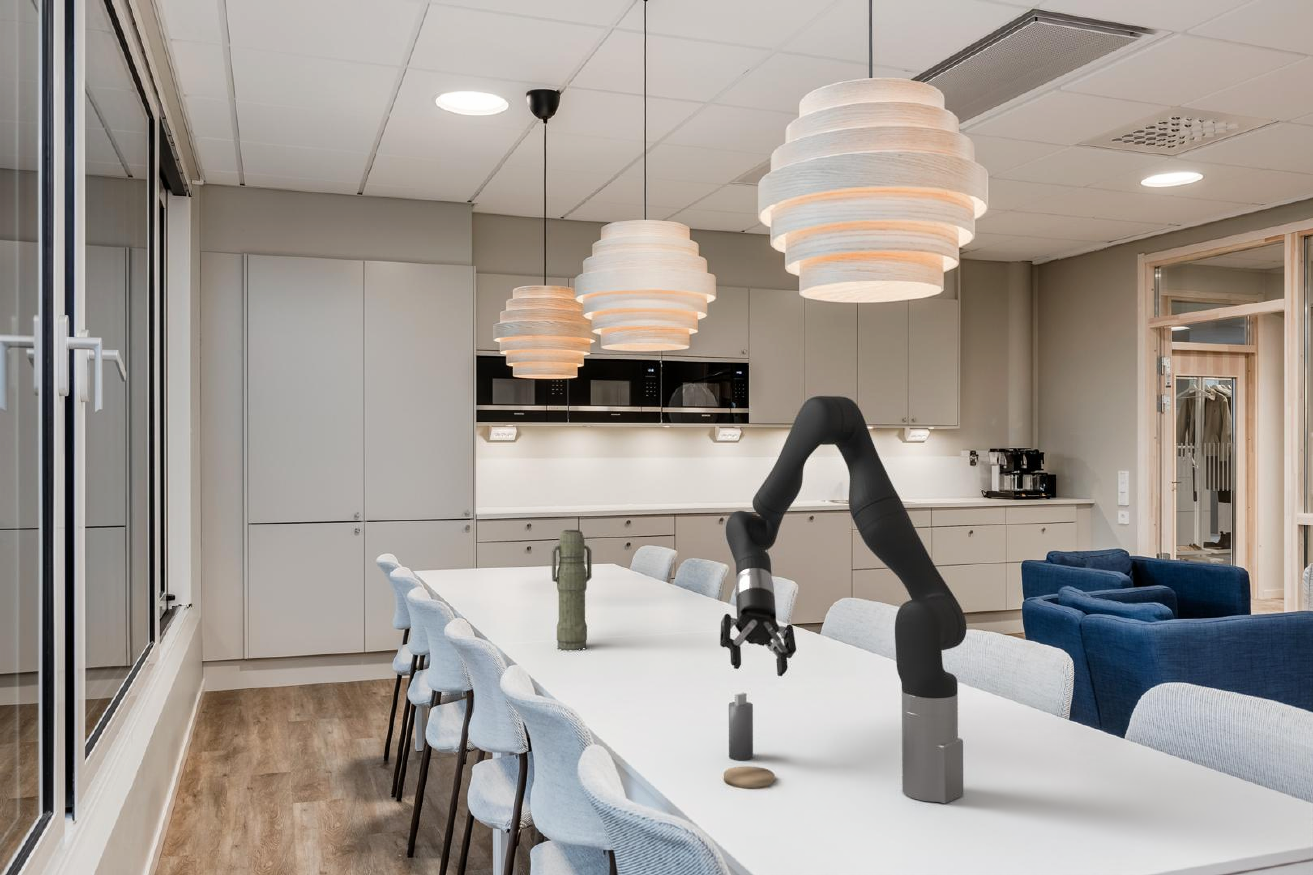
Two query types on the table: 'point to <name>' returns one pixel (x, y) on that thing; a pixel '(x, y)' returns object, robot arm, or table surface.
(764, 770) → the coaster
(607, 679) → the table surface
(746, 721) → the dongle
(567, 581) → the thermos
